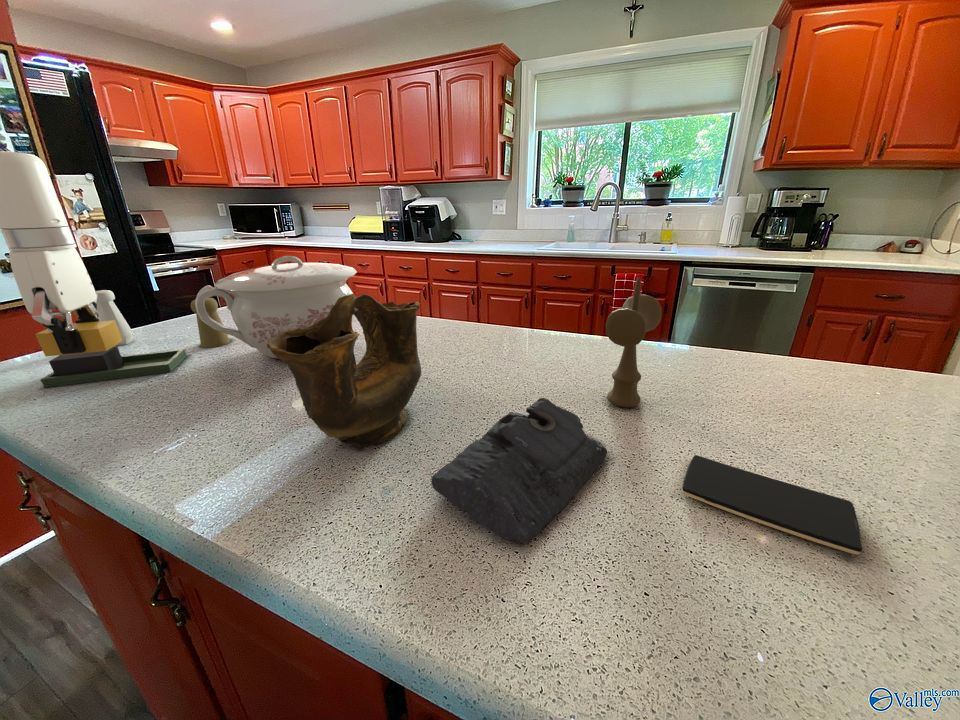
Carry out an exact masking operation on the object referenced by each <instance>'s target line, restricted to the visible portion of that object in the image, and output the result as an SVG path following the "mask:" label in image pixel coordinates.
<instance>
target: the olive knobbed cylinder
mask: <svg viewBox="0 0 960 720" xmlns="http://www.w3.org/2000/svg"><path fill="white" fill-rule="evenodd" d="M195 301H196V299H193V300H191V303H190V309H191V311H192V312H193V313H194V314H195V315H196V322H197V329H198V335H199V342H200V347H201V348H204V349H205V348H207V349H208V348H209V349H210V348H216V347H221V346H224V345H225V346H226V345H227V344H229V343H230V342H231V339H230V337H229V334H226V333H223V332H220V331H217V330H215V329H213V328H212V327H210V326H209V325H208V324H206V323H205V322H203V321H202V320H201V319H200V317H199V315H198V314H197V311H196V306H195ZM205 308H206V311H207V313H208V314H209V316H210V317H211V318H212V319H213V320H215V321H217V322H218V323H220V324H221V325H223V326H224V324H223V321H222V320H221V317H220V315H219V313H218V309H219V304H218V301H217V300H216V299H215V298H213V297H208V298H206V299H205Z"/></svg>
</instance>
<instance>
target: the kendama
mask: <svg viewBox="0 0 960 720" xmlns="http://www.w3.org/2000/svg"><path fill="white" fill-rule="evenodd" d="M633 289H634V290H633V295H632V296H629V297H628V298H627V299H626V300H625V302H624V303H623V305H622V307H621V308H617V309H615V310H613V311H611V313H610V314H609V315H608V317H607V319H606V323H605V334H606V335H607V338H608V339H609V341H611V342H612V343H613V344H614V345H617V346H620V347H623V350H622V353H621V356H620V361H619V363H618V365H617V367H616V369H615V370H614V371H612V374H611V378H612V379H613V386H612V389H611V390H610V391H608V393H607V395H606V399H607V400H608V402H609V403H610V404H613V405H615V406H617V407H621V408H634V407H637V406H638V405H639V404H641V401H642V399H641V396H640V394H639V392H638V384H639V382H640V381H641V380H642V374H641V373H640V372H639V369H638V361H637V359H638V358H637V345H639V344H640V343H641V342H642V341H643V340H644V339H645V336H646V333H648V332H650V331H654V330H656V328H657V327H658V326H659V324H660V322H661V320H662V316H663V313H662V312H663V311H662V310H663V309H662V306H661V304H660V302H659V300H658V299H656V298H655V297H654V296H651V295H647V294H641V291H642V278H641V277H640V276H638V277H637V278H636V280H635V284H634V288H633Z"/></svg>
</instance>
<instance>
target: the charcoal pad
mask: <svg viewBox="0 0 960 720" xmlns="http://www.w3.org/2000/svg"><path fill="white" fill-rule="evenodd" d="M121 356H122V355H121V353H120V350H119V347H118V346H114V347H112V348H110V349H109V350H107V351H101V352H90V353H79V354H68V355H57V356H55V357H54V358H52V359H50V360H49V361H48V363H49V365H50V367H51V369H52V371H53V372H54V373H55V375H56V376H64V375H73V374H81V373H89V372H98V371H106V370H114V369H118V368H119V367H120V366H122V365H123V364H124V362H123V360H122V357H121Z"/></svg>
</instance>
